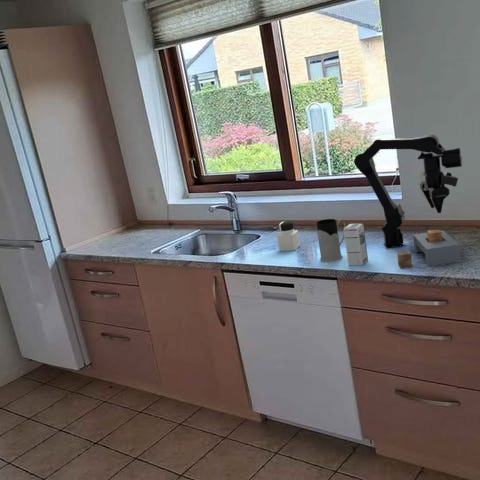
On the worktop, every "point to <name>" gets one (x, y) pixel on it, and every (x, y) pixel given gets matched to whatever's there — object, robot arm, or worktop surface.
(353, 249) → the syrup box
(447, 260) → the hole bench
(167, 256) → the worktop surface
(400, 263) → the short pin
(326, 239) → the grey pitcher
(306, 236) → the worktop surface
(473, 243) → the worktop surface
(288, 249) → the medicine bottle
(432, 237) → the long pin
